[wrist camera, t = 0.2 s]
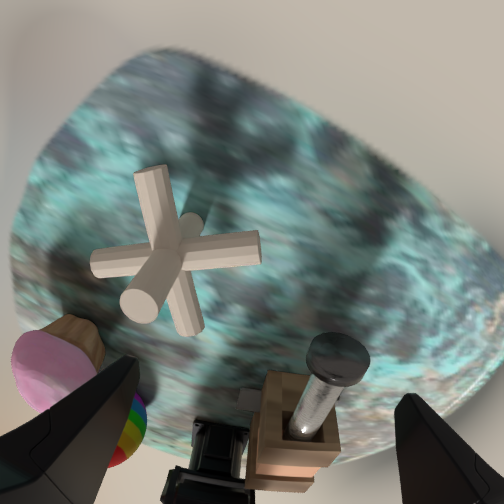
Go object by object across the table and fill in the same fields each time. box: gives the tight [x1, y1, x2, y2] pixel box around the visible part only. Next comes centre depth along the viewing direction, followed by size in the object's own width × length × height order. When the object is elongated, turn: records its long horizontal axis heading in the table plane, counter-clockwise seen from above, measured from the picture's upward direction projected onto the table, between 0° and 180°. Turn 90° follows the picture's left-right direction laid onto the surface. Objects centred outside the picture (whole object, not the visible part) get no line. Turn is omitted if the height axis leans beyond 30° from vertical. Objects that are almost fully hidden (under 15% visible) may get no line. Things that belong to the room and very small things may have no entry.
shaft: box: [282, 332, 370, 442], centre depth 22 cm, size 17×4×4 cm, turn 170°
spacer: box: [255, 429, 320, 477], centre depth 25 cm, size 2×5×5 cm, turn 80°
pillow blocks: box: [244, 370, 341, 493], centre depth 26 cm, size 10×6×8 cm, turn 170°
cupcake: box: [11, 314, 106, 413], centre depth 23 cm, size 9×9×10 cm
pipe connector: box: [90, 165, 262, 337], centre depth 17 cm, size 10×10×10 cm
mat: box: [236, 387, 339, 413], centre depth 29 cm, size 3×10×1 cm, turn 80°
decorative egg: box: [108, 392, 147, 468], centre depth 27 cm, size 8×8×10 cm
